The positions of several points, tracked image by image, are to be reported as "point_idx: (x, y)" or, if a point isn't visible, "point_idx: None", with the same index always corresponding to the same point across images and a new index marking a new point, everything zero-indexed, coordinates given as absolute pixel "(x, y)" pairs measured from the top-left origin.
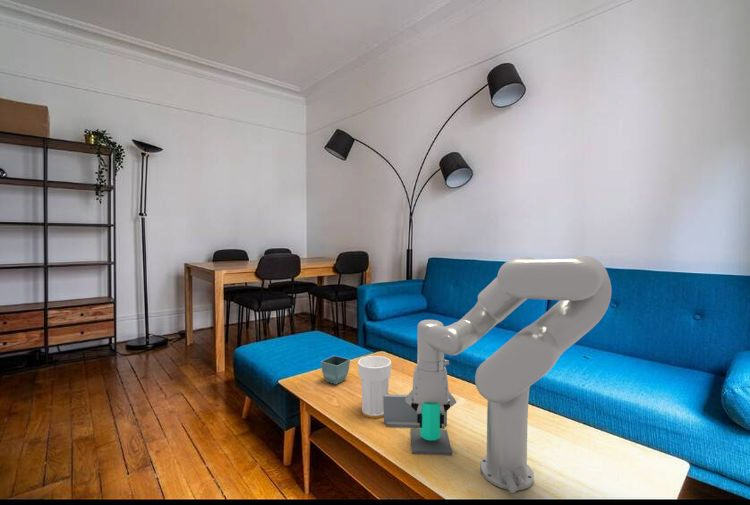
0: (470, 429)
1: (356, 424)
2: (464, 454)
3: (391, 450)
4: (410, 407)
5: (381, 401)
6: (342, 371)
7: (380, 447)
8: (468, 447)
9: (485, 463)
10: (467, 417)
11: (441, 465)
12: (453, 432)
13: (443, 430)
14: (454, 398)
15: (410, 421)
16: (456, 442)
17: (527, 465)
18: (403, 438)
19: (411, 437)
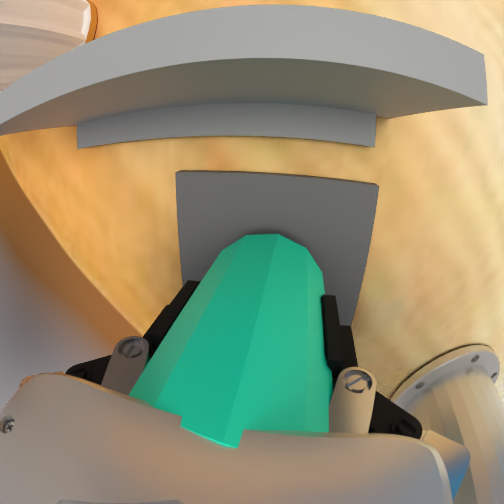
0: (481, 171)
1: (20, 152)
2: (388, 337)
3: (125, 298)
4: (127, 97)
5: (17, 75)
6: None
7: (93, 280)
8: (422, 300)
9: (415, 393)
10: (487, 70)
11: None
12: (407, 186)
13: (359, 191)
14: (460, 476)
15: (174, 106)
16: (392, 268)
17: (494, 382)
18: (153, 229)
19: (181, 248)
